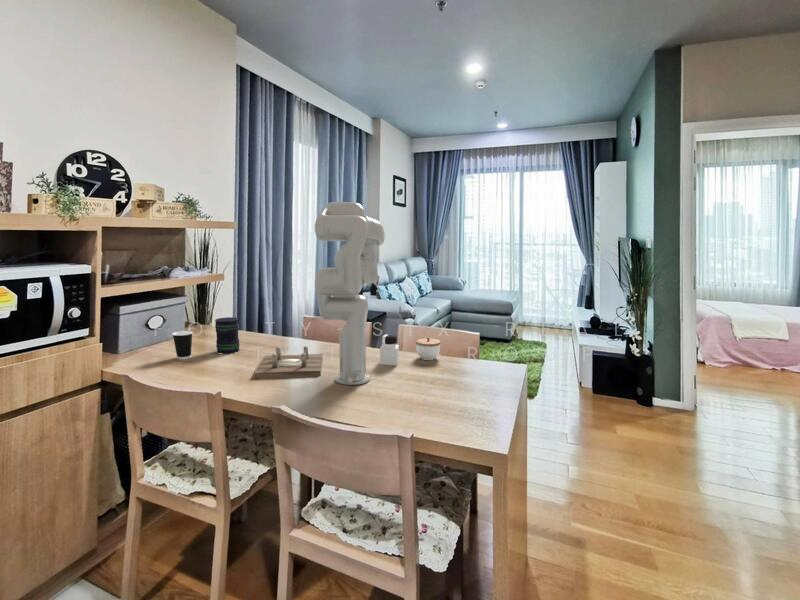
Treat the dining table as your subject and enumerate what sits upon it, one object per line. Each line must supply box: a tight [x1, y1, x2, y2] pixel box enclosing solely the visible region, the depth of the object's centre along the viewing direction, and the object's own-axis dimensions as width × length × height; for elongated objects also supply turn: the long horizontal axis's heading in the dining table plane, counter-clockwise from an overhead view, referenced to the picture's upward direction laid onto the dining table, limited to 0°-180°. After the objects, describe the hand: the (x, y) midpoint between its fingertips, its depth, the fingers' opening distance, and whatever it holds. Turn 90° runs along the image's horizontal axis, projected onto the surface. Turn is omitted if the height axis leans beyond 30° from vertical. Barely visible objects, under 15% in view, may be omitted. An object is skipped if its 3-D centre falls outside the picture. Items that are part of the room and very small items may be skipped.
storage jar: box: [214, 316, 240, 355], centre depth 192 cm, size 10×10×15 cm
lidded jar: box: [415, 336, 442, 361], centre depth 184 cm, size 11×11×9 cm
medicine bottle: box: [379, 333, 400, 367], centre depth 176 cm, size 7×7×12 cm
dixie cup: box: [171, 330, 194, 360], centre depth 181 cm, size 8×8×11 cm
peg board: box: [253, 345, 323, 379], centre depth 168 cm, size 24×24×7 cm
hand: (366, 296), depth 185 cm, fingers open, 9 cm apart
